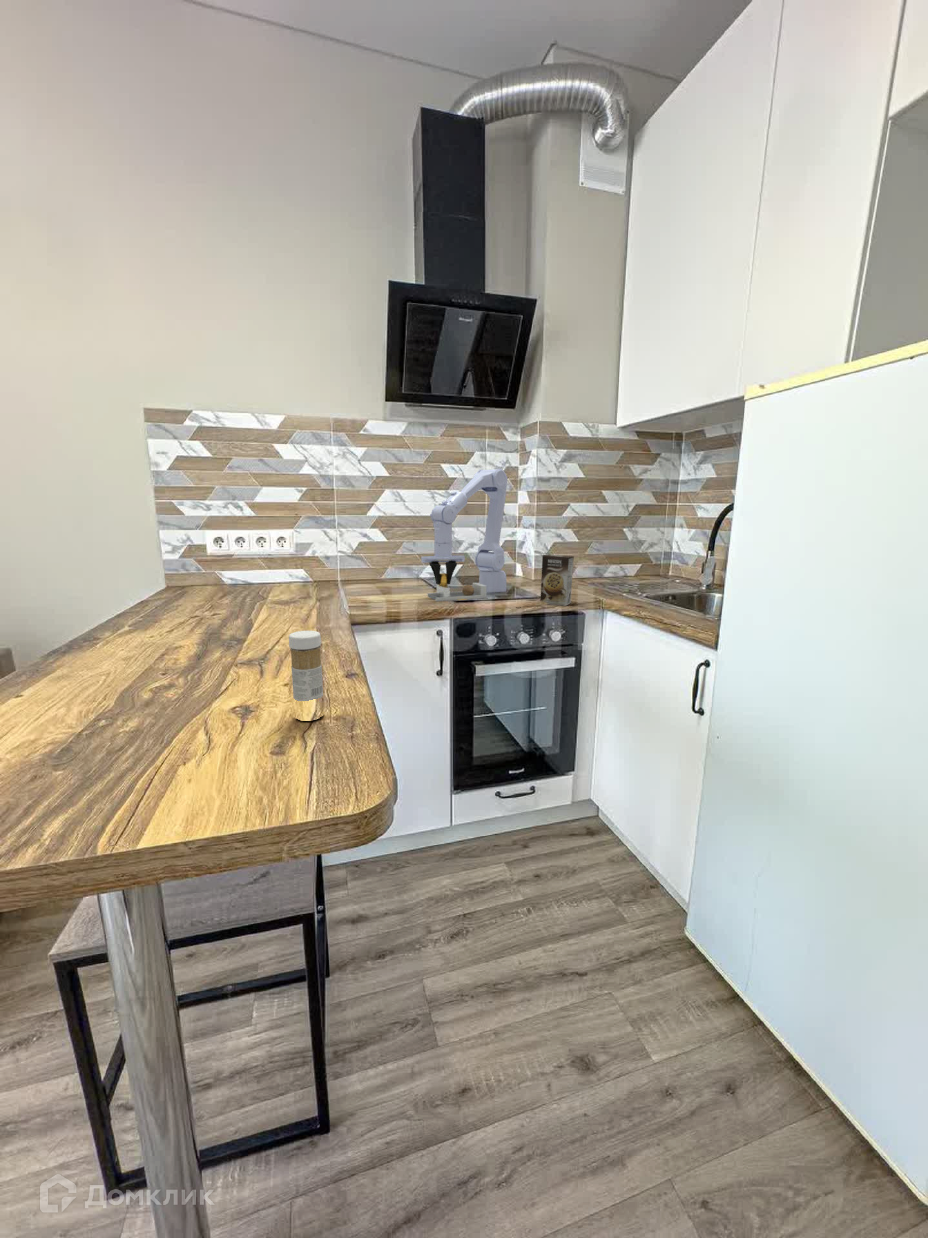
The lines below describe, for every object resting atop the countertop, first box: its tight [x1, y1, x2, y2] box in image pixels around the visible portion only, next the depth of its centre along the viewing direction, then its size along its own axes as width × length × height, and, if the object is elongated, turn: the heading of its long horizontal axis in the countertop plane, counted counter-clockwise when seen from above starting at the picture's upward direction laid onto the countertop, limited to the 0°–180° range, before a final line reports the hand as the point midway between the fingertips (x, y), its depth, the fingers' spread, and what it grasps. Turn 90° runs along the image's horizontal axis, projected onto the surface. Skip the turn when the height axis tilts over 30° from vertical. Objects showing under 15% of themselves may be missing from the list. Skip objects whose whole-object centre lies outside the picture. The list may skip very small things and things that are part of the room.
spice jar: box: [288, 630, 324, 701], centre depth 80 cm, size 5×5×13 cm
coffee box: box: [539, 554, 575, 607], centre depth 174 cm, size 9×6×16 cm
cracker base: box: [426, 582, 488, 602], centre depth 177 cm, size 18×11×6 cm, turn 110°
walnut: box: [461, 584, 474, 596], centre depth 178 cm, size 4×4×4 cm
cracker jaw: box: [436, 572, 451, 597], centre depth 175 cm, size 3×8×8 cm, turn 20°
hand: (443, 583), depth 175 cm, fingers closed on cracker jaw, 3 cm apart
